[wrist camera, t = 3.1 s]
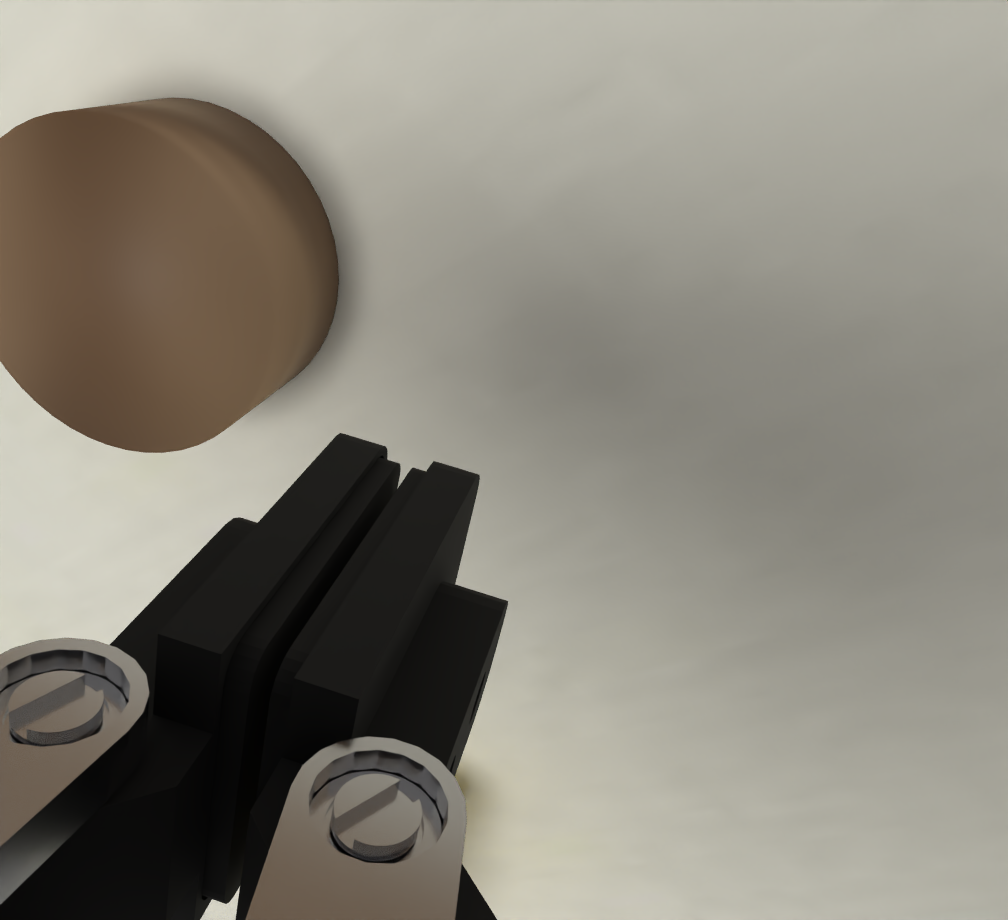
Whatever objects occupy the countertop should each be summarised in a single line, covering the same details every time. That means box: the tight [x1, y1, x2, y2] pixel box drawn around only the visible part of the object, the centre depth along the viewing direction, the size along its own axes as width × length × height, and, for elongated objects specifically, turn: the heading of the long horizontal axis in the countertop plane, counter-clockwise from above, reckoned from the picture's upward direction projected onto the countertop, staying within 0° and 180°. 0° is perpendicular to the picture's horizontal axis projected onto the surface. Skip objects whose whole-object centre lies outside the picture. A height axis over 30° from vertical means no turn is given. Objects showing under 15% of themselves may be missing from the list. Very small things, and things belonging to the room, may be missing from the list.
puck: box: [0, 98, 339, 453], centre depth 18 cm, size 6×6×3 cm
